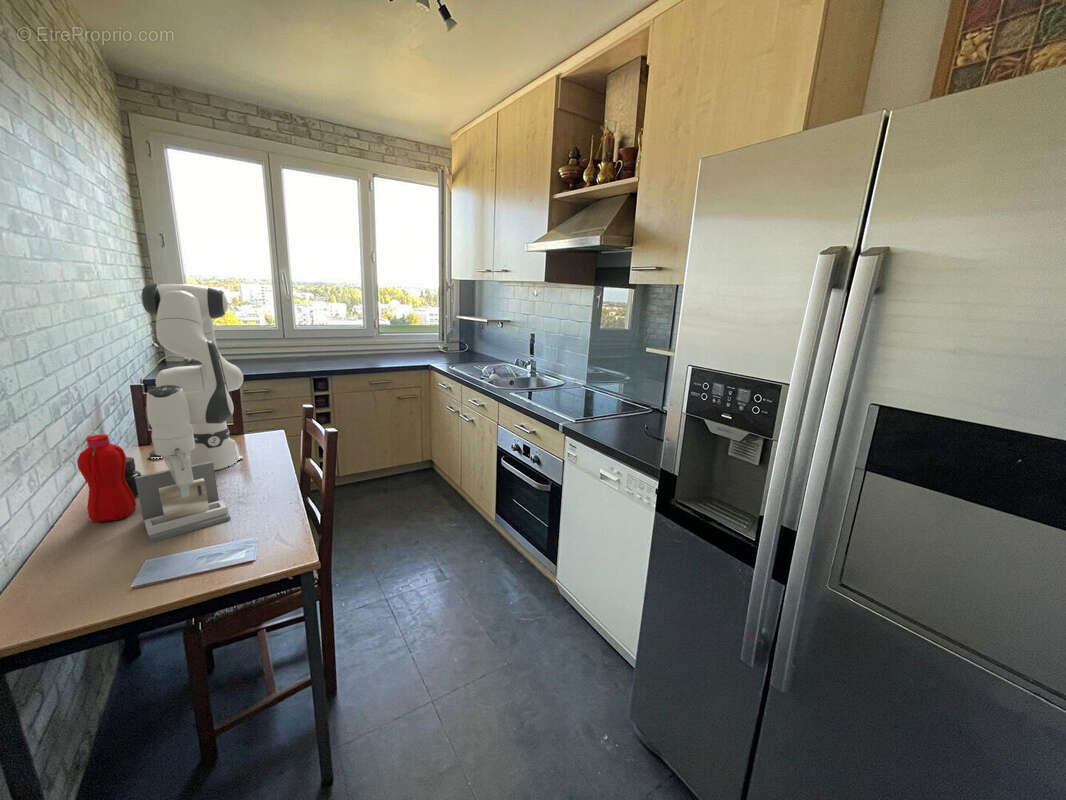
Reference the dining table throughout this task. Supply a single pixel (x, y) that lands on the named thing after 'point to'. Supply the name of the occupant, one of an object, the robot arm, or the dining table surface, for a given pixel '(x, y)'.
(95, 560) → the dining table surface
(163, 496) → the door panel
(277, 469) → the dining table surface
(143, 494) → the grey tablet stand
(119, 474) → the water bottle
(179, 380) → the robot arm
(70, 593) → the dining table surface
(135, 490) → the ink bottle
